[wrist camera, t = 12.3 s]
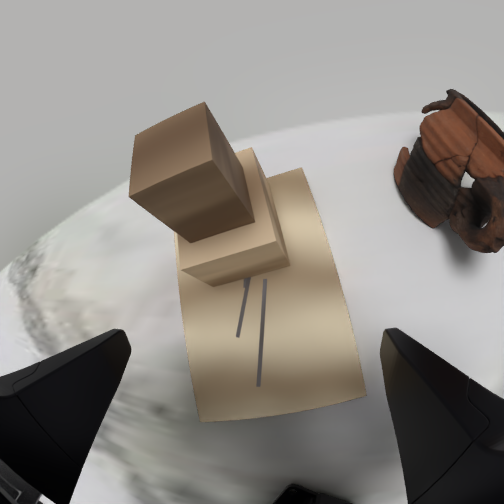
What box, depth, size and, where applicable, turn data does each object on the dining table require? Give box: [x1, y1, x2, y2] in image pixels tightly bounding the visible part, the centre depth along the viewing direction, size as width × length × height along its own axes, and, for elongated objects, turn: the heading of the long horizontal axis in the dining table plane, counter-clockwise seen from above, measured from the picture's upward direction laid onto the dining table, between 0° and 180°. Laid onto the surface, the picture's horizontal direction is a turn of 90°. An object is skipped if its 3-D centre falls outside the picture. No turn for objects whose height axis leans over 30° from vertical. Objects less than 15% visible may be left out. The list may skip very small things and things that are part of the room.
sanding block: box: [129, 102, 291, 287], centre depth 14 cm, size 6×5×9 cm
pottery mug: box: [394, 89, 504, 253], centre depth 13 cm, size 12×9×8 cm
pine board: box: [174, 168, 367, 422], centre depth 17 cm, size 15×10×2 cm, turn 11°
